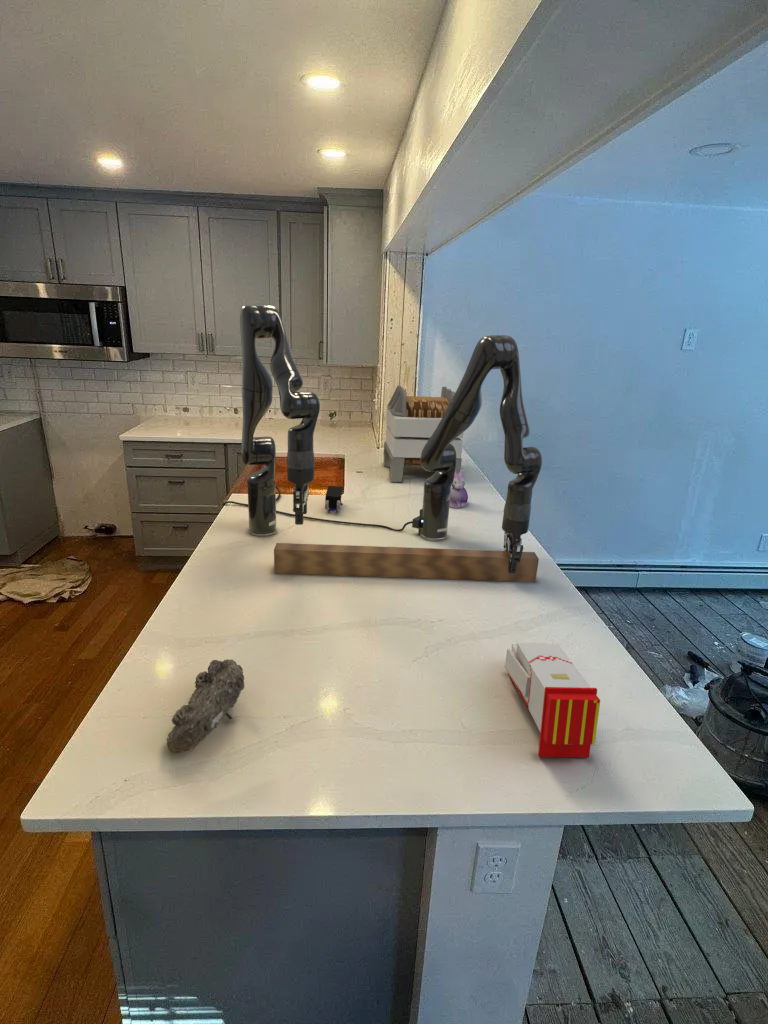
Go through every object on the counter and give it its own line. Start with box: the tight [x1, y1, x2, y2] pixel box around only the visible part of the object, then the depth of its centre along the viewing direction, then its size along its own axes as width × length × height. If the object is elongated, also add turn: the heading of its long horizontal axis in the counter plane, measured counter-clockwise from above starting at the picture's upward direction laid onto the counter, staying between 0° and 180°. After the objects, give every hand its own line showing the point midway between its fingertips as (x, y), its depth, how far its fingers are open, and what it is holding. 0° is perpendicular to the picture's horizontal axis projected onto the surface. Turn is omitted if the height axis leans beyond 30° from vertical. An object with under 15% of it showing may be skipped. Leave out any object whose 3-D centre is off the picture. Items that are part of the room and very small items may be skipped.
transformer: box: [383, 384, 464, 483], centre depth 268 cm, size 34×33×41 cm
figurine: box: [449, 468, 469, 509], centre depth 230 cm, size 9×10×15 cm
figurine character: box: [324, 485, 344, 514], centre depth 220 cm, size 7×8×15 cm
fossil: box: [166, 658, 245, 754], centre depth 106 cm, size 22×10×15 cm
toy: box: [504, 642, 601, 758], centre depth 113 cm, size 12×13×30 cm
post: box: [273, 542, 540, 583], centre depth 169 cm, size 77×5×8 cm, turn 91°
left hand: (301, 518), depth 164 cm, fingers open, 8 cm apart
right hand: (509, 568), depth 170 cm, fingers closed on post, 5 cm apart
